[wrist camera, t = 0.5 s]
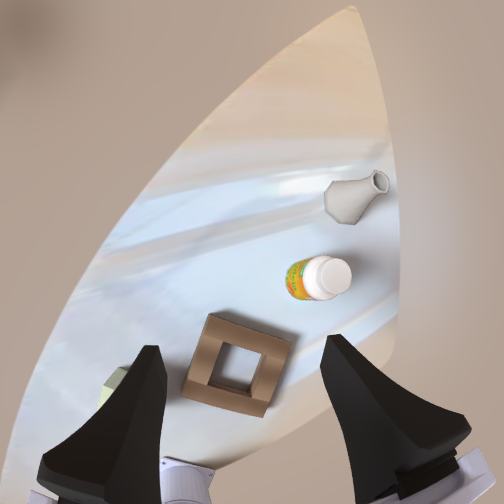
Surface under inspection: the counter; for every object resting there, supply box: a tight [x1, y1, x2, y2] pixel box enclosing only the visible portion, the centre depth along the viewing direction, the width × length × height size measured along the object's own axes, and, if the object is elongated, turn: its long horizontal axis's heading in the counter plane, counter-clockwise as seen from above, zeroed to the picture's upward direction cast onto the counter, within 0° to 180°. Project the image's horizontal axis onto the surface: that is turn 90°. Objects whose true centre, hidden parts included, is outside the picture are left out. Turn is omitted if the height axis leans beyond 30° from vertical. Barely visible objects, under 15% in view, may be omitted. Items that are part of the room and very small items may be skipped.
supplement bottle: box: [285, 255, 352, 301], centre depth 35 cm, size 5×5×10 cm
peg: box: [97, 367, 128, 411], centre depth 28 cm, size 4×4×8 cm
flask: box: [324, 170, 390, 225], centre depth 38 cm, size 7×7×10 cm
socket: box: [181, 314, 292, 418], centre depth 34 cm, size 11×11×2 cm
